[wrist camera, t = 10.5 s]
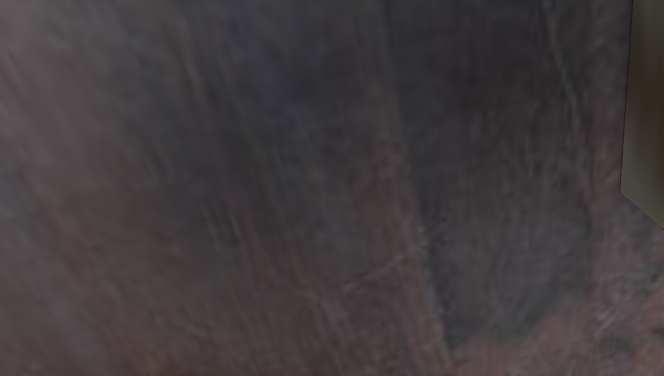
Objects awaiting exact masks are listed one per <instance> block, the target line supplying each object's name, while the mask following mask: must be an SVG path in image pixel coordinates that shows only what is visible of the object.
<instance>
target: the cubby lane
mask: <svg viewBox="0 0 664 376" xmlns="http://www.w3.org/2000/svg"><path fill="white" fill-rule="evenodd" d="M620 193H621V194H622V195H624V196H625V197H626V198H627V199H628V200H630V201H631V202H632V203H633V204H634V205H635V206H637V207H638V208H639V209H640V210H641V211H643V212H644V213H645V214H646V215H647V216H648V217H650V218H651V219H652V220H653V221H654V222H656V223H657V224H658V225H659V226H660V227H661V228H663V229H664V0H633V10H632V25H631V40H630V54H629V69H628V84H627V99H626V113H625V128H624V143H623V157H622V172H621V187H620Z"/></svg>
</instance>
